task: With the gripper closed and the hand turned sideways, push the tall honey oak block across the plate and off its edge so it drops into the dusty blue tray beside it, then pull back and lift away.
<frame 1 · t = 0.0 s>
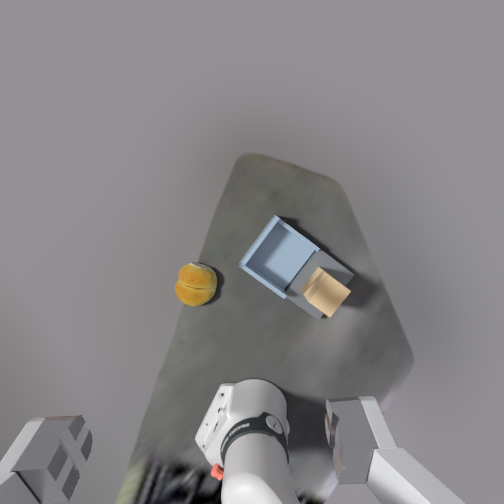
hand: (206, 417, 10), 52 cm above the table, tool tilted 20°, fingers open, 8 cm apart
oak block: (319, 285, 61), point 2 cm above the table, touching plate
tray: (278, 254, 62), on the table
bread roll: (197, 282, 63), on the table
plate: (317, 282, 63), on the table
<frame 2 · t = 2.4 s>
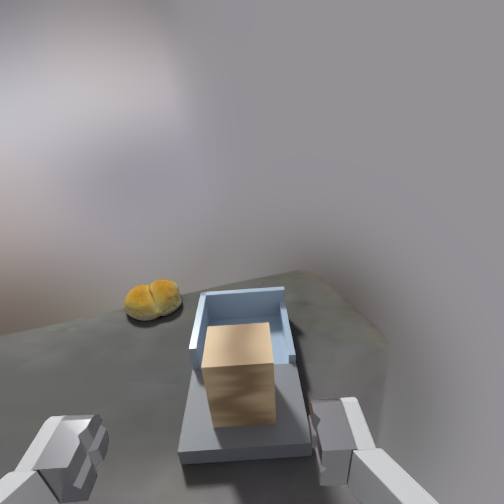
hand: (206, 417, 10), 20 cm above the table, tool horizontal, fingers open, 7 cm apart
oak block: (244, 401, 30), point 2 cm above the table, touching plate
tray: (245, 342, 40), on the table
bread roll: (156, 306, 50), on the table
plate: (245, 414, 31), on the table
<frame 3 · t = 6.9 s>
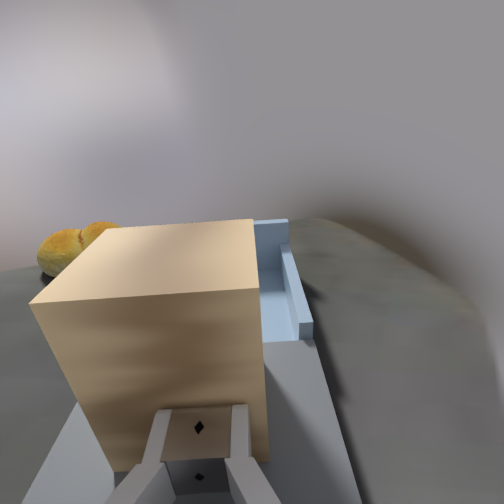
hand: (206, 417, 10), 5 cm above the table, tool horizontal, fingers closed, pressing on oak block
oak block: (199, 406, 14), point 2 cm above the table, touching gripper
tray: (219, 309, 23), on the table
bread roll: (93, 262, 33), on the table
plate: (204, 449, 14), on the table
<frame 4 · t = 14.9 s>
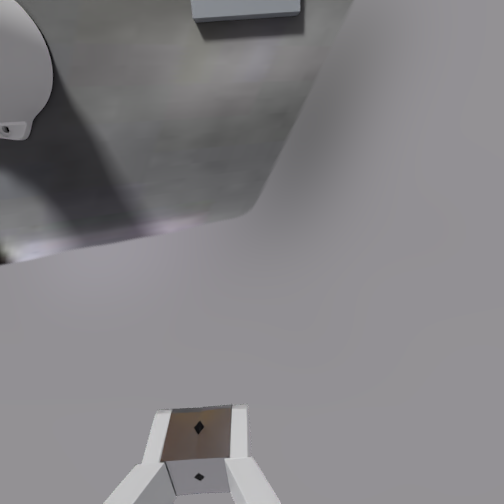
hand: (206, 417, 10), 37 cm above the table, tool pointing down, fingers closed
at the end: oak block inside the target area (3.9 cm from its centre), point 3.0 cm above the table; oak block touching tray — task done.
